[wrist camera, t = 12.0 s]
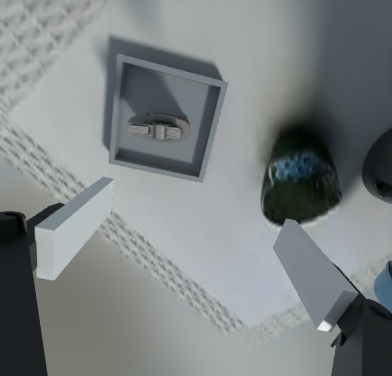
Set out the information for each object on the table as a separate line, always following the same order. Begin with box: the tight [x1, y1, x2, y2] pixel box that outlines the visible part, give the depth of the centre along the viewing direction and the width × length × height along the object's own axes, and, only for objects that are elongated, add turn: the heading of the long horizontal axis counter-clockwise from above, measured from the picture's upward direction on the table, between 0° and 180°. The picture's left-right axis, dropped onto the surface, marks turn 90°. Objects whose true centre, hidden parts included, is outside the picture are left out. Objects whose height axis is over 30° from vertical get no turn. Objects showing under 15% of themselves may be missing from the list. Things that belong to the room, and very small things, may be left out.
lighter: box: [128, 113, 191, 143], centre depth 29 cm, size 8×3×10 cm, turn 84°
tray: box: [109, 53, 228, 183], centre depth 33 cm, size 16×16×3 cm
